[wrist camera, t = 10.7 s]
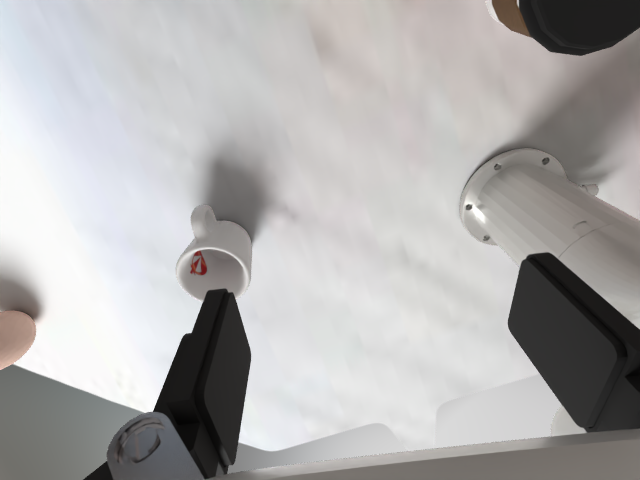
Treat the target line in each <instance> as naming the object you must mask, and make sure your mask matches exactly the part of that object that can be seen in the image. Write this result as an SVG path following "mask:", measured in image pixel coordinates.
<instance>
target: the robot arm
mask: <svg viewBox="0 0 640 480" xmlns="http://www.w3.org/2000/svg"><path fill="white" fill-rule="evenodd" d="M495 164H496V165H495ZM597 193H598V186H597V185H596V184H590V185H582V186H579V185H577V184H575V183H573V182H571V181H569V180H568V179H567V176H566V173H565V170H564V168H563V166H562V165H561V164H560V162H559V161H558V160H557V159H556V158H554V157H553V156H552V155H550V154H548V153H546V152H543V151H540V150H537V149H529V148H522V149H514V150H511V151H508V152H504V153H502V154H500V155H498V156H496V157H494V158H492V159H491V160H489V161H488V162H486V163H485V164H484V165H483V166H482V167H480V168H479V169H478V170H477V171H476V172H475V174H474V175H473V176H472V177H471V178H470V180H469V181H468V183H467V185H466V187H465V188H464V191H463V194H462V196H461V201H460V217H461V221H462V223H463V225H464V227H465V229H466V230H467V231H468V232H469V233H470V235H471V236H473V237H474V238H475V239H476V240H478V241H480V242H482V243H485V244H489V245H496V246H499V247H500V248H501V249H502V250H503V251H504V252H505V253H506V254H507V255H508V256H509V257H510V258H511V259H512V260H513V261H514V262H515V263H516V265H517V266H518V267H519V268H520V270H519V274H518V279H517V283H516V288H515V292H514V296H513V301H512V305H511V310H510V314H509V318H508V327H509V330H510V332H511V334H512V335H513V336H514V338H515V339H516V341H517V342H518V343H519V345H520V346H521V348H522V349H523V350H524V352H525V353H526V355H527V356H528V357H529V359H530V360H531V362H532V363H533V365H534V366H535V367H536V369H537V370H538V372H539V373H540V374H541V376H542V377H543V379H544V380H545V381H546V383H547V384H548V386H549V387H550V388H551V390H552V391H553V393H554V394H555V396H556V397H557V398H558V400H559V401H560V402H561V404H562V406H561V407H560V408H559V410H558V411H557V412H556V414H555V416H554V418H553V421H552V424H551V437H541V438H531V439H522V440H511V441H502V442H492V443H483V444H473V445H463V446H454V447H444V448H435V449H425V450H416V451H407V452H397V453H388V454H379V455H370V456H361V457H353V458H343V459H335V460H325V461H316V462H307V463H300V464H292V465H285V466H278V467H269V468H262V469H253V470H248V471H242V472H236V473H231V474H227V471H228V466H229V465H233V464H234V462H235V458H236V452H237V446H238V440H239V433H240V427H241V420H242V414H243V407H244V401H245V395H246V388H247V382H248V375H249V369H250V363H251V351H250V347H249V344H248V340H247V337H246V333H245V330H244V326H243V323H242V320H241V316H240V313H239V309H238V306H237V303H236V299H235V296H234V293H233V292H228V290H227V289H226V288H224V289H215V290H208V291H207V293H206V296H205V298H204V301H203V304H202V306H201V309H200V312H199V314H198V317H197V320H196V323H195V325H194V328H193V331H192V333H189V334H185V335H184V336H183V338H182V340H181V342H180V345H179V347H178V350H177V352H176V355H175V357H174V360H173V362H172V365H171V367H170V370H169V373H168V375H167V378H166V380H165V383H164V385H163V388H162V390H161V393H160V395H159V398H158V400H157V403H156V405H155V408H154V410H153V412H148V413H144V414H141V415H139V416H137V417H135V418H133V419H131V420H130V421H129V422H127V423H126V424H125V425H124V426H123V427H121V428H120V430H119V431H118V432H117V433H116V434H115V435H114V437H113V439H112V441H111V442H110V444H109V447H108V451H107V461H106V462H105V463H104V464H103V465H101V466H100V467H99V468H97V469H96V470H95V471H94V472H93V473H91V474H90V475H89V476H87V477H86V478H85V479H84V480H640V221H639V220H638V219H636V218H634V217H632V216H630V215H628V214H627V213H625V212H623V211H621V210H619V209H617V208H615V207H614V206H612V205H610V204H608V203H606V202H604V201H603V200H601V199H599V198H597V197H595V195H597Z"/></svg>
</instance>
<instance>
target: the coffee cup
mask: <svg viewBox="0 0 640 480" xmlns="http://www.w3.org/2000/svg"><path fill="white" fill-rule="evenodd" d="M485 4H486V6H487V8H488V10H489V13H490V15H491V17H493V18H494V19H495V20H496V21H498V22H499V23H500V24H501V25H504V26H506V27H508V28H509V29H510V30H511V31H514V32H517V33H520V34H523V35H526V36H529V37H532V38H534V39H535V40H536V41H537V42H539V43H540V44H541V45H542V46H544V47H545V48H546V49H547V50H549V51H550V52H556V53H563V54H570V55H579V56H582V55H586V54H589V53H592V52H596V51H599V50H602V49H606V48H609V47H612V46H614V45H615V44H616V43H618V42H619V41H621V40H623V39H624V38H626V37H627V36H628V35H630V34H631V33H633V32H634V31H636V30H637V29H638V28H640V0H485Z"/></svg>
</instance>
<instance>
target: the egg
mask: <svg viewBox="0 0 640 480" xmlns="http://www.w3.org/2000/svg"><path fill="white" fill-rule="evenodd" d="M35 336H36V326H35V323H34V321H33V319H32V318H31V317H30V316H29V315H27V314H25V313H23V312H19V311H2V312H0V370H1V369H3V368H5V367H7V366H9V365H11V364H13V363H14V362H16V361H17V360H18V359H20V358H21V357H22V356H23V355H24V354H25V353H26V352H27V351H28V350H29V348H30V347H31V345H32V344H33V342H34V340H35Z"/></svg>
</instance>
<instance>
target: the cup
mask: <svg viewBox="0 0 640 480" xmlns="http://www.w3.org/2000/svg"><path fill="white" fill-rule="evenodd" d="M191 226H192V230H193V233H194V236H195V238H194V240H193V241H192V242H191V243H190V245H189V246H188V247H187V248H186V250H185V251H184V252H183V253H182V255H181V256H180V258H179V259H178V262H177V265H176V277H177V280H178V282H179V284H180V286H181V287H182V289H183V290H184V291H185V292H186V293H187V294H188V295H190V296H191V297H193V298H194V299H196V300H199V301H201V302H203V301H204V298H205V296H206V293H207V291H208V290H215V289H224V288H226V289H227V290H228V292H233V293H234V296H235V299H236V300H237V299H238V298H240V297H241V296H242V295H243V294H244V293H245V292H246V290H247V289H248V287H249V284H250V280H251V261H252V244H251V239H250V237H249V235H248V233H247V232H246V231H245V230H244V229H243V228H242V227H241V226H240V225H238V224H236V223H234V222H231V221H223V220H222V221H217V220H216V217H215V214H214V212H213V210H212V208H211V207H210V206H209V205H200V206H198V207H196V208H195V209H194V210H193V212H192V215H191Z"/></svg>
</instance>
